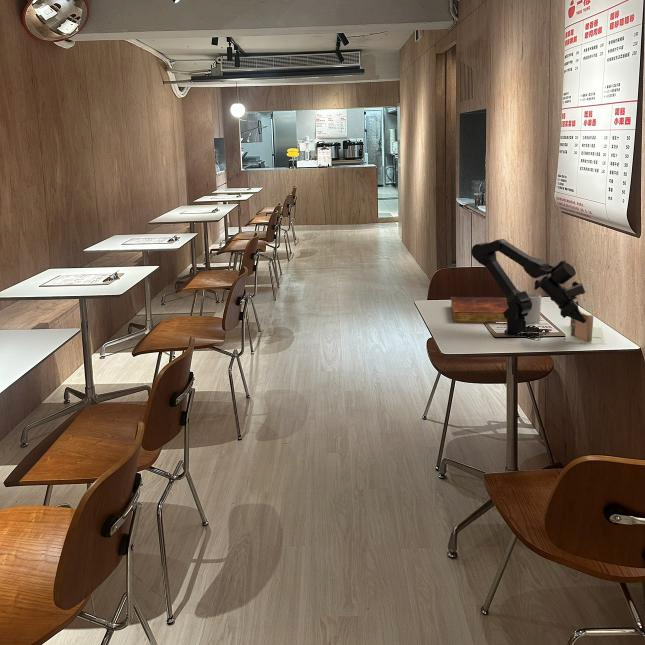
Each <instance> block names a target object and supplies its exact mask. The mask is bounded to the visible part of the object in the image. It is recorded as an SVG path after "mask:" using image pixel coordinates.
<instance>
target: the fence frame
mask: <svg viewBox="0 0 645 645" xmlns="http://www.w3.org/2000/svg"><path fill="white" fill-rule="evenodd" d="M575 322H576V320H575V319H573V318H570V324H569V326H570V327H571V335H572V336H576V335H575Z"/></svg>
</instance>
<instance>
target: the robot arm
mask: <svg viewBox="0 0 645 645" xmlns="http://www.w3.org/2000/svg"><path fill="white" fill-rule="evenodd" d="M498 252H499V253H500V254H502V255H504V256H506V257H507V258H508V259H510V260H512V261H513V262H515V263H516V264H518V265H519V266H521V267H522V268H523V270H524V272H525V273H527V275H529V277H531V278H532V279H536V280H535V282H534V290H535V291H536V290H538V289H539V288H540V289H541V290H542V291H543V292H544V293H545V294H546V295H547V296H548V297H549V298H550V300H551V302H554V304H556V306H557V307H558V309H559V310H560V312H559V313H560V316H561V317H562V318H563V319H565V318H567V317H568V318H570V319H571V318H573V319H575V320H577V321H580V322H582V323H585V322H586V320H585V319H584V317H583V315H582V314H581V312H582V311H580V309H579V301H578V300H577V299H578V296H580V295H584V294H586V290H585V287H584V284H583V283H582V282H578V281H577V280H576V281H573V282H572V283H571V286H570V287H567V288H566V287H565V286H563V285H564V284H566V283H567V282H568V281H569V280H571V279H572V278H573V277H574V276H576V273H577V271H576V269H575V268H574V266H572V265H571V264H570V263H568V262H567V261H566V260H561V261H559V263H558V264H557V265H555V266H553V265H550V263H548V261H546V260H543V259H541V258H538V257H533V256H531V255H530V254H527V253H526V252H524V251H522V250H521V249H520V248H518V247H516V246H515V245H513V244H511V243H510V242H508V240H507V239H505V238H500V239H495V240H493V241H490V242H481V243H476V244H474V245H473V246H472V248H471V253H470V254H471V256H472V258H473V259H474V260H476V262H478V263H479V264H481V265H482V266H483V267H485V269H486V270H487V272H488V273H489V274H490V276H491V278H493V280H494V281H495V283H496V284H497V286H498V287H499V288H500V290H501V292H502V293H503V295H504V296H505V298H507V305H508V307H509V308H508V309H507V310H506V311H504V312H503V314H504V318H507V324H506V327H505V328H506V329H505V332H507V333H506V335H508V334H518V333H520V332H521V331H523V330H525V329H526V330H527V324H526V321H525V316H527V315H528V313H529V312H530V310H531V309H532V302H531V301H530V300H531V298H529V296H528V295H527V293H528V292H527V291H525V290H524V291H520V290H518V289H517V286H515V284H514V283H513V281H512V280H511V278H510V277H509V276H508V274H507V273H506V271H505V270H504V269H503V267H502V266H501V264H500V263H499V261H498V260H497V253H498ZM548 275H549V276H548ZM542 277H543V278H542ZM539 278H541V279H539ZM537 279H539V280H537ZM575 300H577V301H575Z"/></svg>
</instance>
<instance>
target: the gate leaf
mask: <svg viewBox="0 0 645 645" xmlns="http://www.w3.org/2000/svg"><path fill="white" fill-rule="evenodd" d="M580 312H581V314H582V315H583V317H584V319H585V320H586V322H585V323H582V322H580V321H577V320H576V322H575V335H576V336H578V337H580V338H583V339H585V340H587V341H592V330H593V327H594V314H593V315H592V314H588V313H585V312H582V311H580Z"/></svg>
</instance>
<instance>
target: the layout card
mask: <svg viewBox="0 0 645 645" xmlns="http://www.w3.org/2000/svg"><path fill="white" fill-rule="evenodd" d="M564 332H565V333H564V335H565V343H574V344H575V343H577V344H578V343H579V344H592V345H593V344H594V345H606V341H605V337H604V333H603V328H602V327H594V326H593V330H592V341H587V340H585V339H583V338H580V337H578V336H572V335H571V327H570V325H565V326H564Z"/></svg>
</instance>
